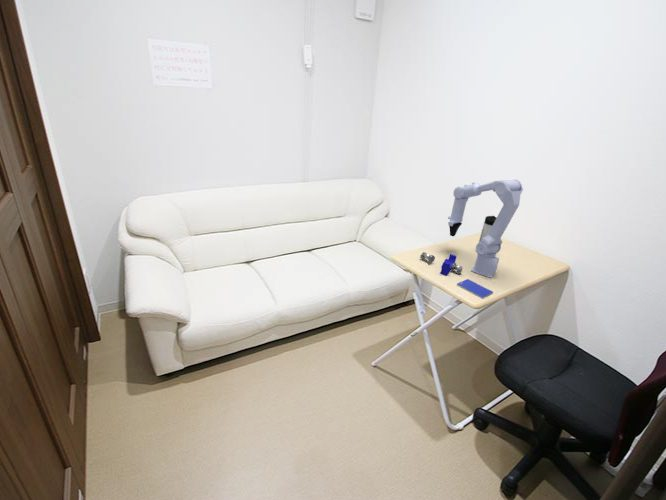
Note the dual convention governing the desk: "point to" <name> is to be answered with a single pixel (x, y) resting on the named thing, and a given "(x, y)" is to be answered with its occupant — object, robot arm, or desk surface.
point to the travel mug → (487, 226)
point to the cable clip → (448, 264)
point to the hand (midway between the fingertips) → (452, 235)
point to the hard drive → (475, 288)
